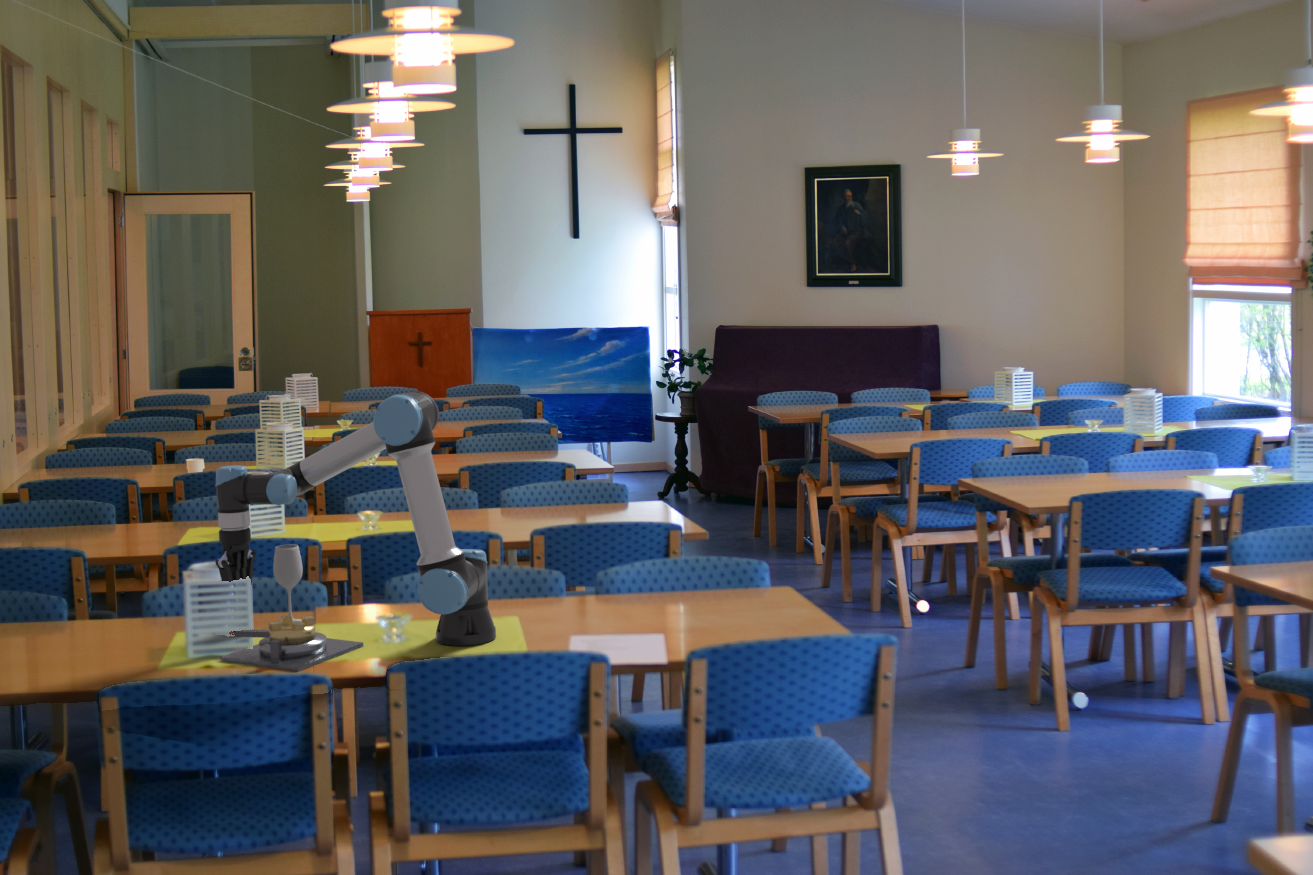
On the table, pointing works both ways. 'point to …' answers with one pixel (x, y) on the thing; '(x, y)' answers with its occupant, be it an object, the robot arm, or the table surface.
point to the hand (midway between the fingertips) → (239, 620)
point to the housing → (292, 653)
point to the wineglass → (288, 569)
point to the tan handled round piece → (284, 630)
